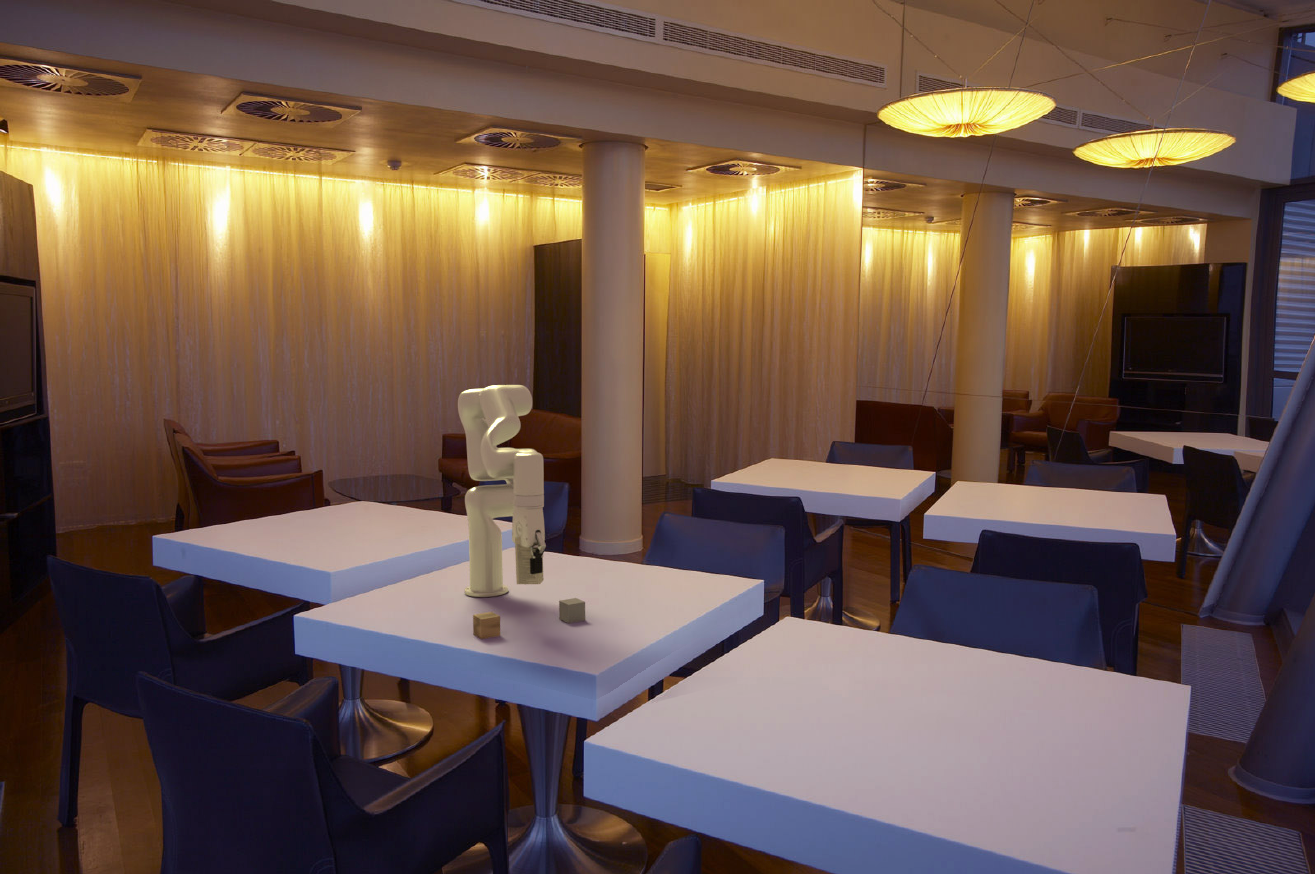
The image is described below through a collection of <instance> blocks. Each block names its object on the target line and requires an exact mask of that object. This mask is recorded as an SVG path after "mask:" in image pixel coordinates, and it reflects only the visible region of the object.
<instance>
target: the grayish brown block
mask: <svg viewBox="0 0 1315 874" xmlns="http://www.w3.org/2000/svg"><path fill="white" fill-rule="evenodd" d="M558 605H559V606H558V607H559V608H558V610H559V613H558V614H559V616H558V617H559V620H561V621H562V622H565V623H567V624H572V623H578V622H579V623H580V622H584V621H586V601H584V600H581V599H579V598H576V597H574V598H573V597H572V598H566V599H561V600H560V599H559V601H558Z"/></svg>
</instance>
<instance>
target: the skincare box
mask: <svg viewBox="0 0 1315 874" xmlns="http://www.w3.org/2000/svg"><path fill="white" fill-rule="evenodd" d="M534 545H538V543H535V544H533V546H534ZM514 547H515V548H514V549H515V550H514V551H515V574H516V576H515V577H516V585H541V584H542V583H543V582H544V571H543V572H542V573H538V574H531V573H530V558H532V557H531V552H530V548H524V547H522V546H520V537H515V543H514ZM537 549H538V548H537ZM535 551H536V549H534V552H535ZM542 562H543V563H544V557H543V558H542Z"/></svg>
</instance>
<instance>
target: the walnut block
mask: <svg viewBox="0 0 1315 874" xmlns="http://www.w3.org/2000/svg"><path fill="white" fill-rule="evenodd" d="M472 624H473V625H472V627H473V631H472V632H473V633H472V634H473V635H474V636H475V637H478V639H481V640H486V639H489V637H491V638H494V637H495V638H497V637H500V636H501V616H500V615H499V614H497V613H495V612H494V611H488V612H482V613H477V614H475V613H474V614H473V615H472Z"/></svg>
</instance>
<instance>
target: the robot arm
mask: <svg viewBox="0 0 1315 874" xmlns="http://www.w3.org/2000/svg"><path fill="white" fill-rule="evenodd" d="M532 408H533V396H532V394H531V392H530V390H529V389H528V387H526V386H525V385H521V384H506V385H505V384H497V385H495V384H494V385H489V386H486V387H484V388H483V387H482V388H471V389H467V390H464V391H462V392H461V393H459V396H458V399H457V410H458V415H459V419H460V421H461V424H462V426H463V429H464V433H465V439H466V455H467V457H466V458H467V467H468V468H467V469H468V470H467V471H468V475H469V477H470V478H471V480H473V481H477V482H478V481H479V482H487V481H505V483H506V484H505V483H504V484H491V485H490V484H489V485H478V486H474V487H471V488H470V489H468V490H467V491H466V493H465V495H464V505H465V510H466V515H467V522H468V523H467V525H468V546H469V547H468V551H469V552H468V553H469V554H468V555H469V556H468V557H469V560H468V561H469V586H467V587H465V589H464V594H465V595H466V596H470V597H474V598H475V597H476V598H488V597H489V598H491V597H497V596H501V595H505V594H506V593H508V592H509V587H508V585H506V584H504V581H503V580H504V579H503V573H504V572H503V535H502V530H501V528H500V526H498V525H497V523H496V522H495V521H494V519H496V518H505V517H512V521H511V522H512V523H511V524H512V527H511V541H512V542H513V543H514V544H515V537H520V546H522V547H524V548H530V552H531V557H532V558H530V573H531V574H538V573H542V572H543V573H544V561H543V562H542V558H543V559H544V552H545V549H546V547H547V545H546V542H545V541H546V539H545V537H546V533H545V531H546V530H545V518H544V510H543V508H545V507H544V506H545V495H544V494H545V490H544V486H545V485H544V484H545V483H544V477H545V476H544V474H545V473H544V455H543V454H542V453H540V452H538V451H537V450H536V449H534V448H514V447H497V446H498V445H500V444H501V445H502V443H505V442H507V441H509V440H511V439H513V437H515V436H516V435H517V434H518V433H519V432H520V430H521V426H522V425H521V421H520V418H519V417H522V416H526V415H528V414H529V413H530V412H531V411H532ZM535 543H538V545H534V546H533V544H535ZM537 548H538V549H537ZM534 549H536V551H535V552H534Z"/></svg>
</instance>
